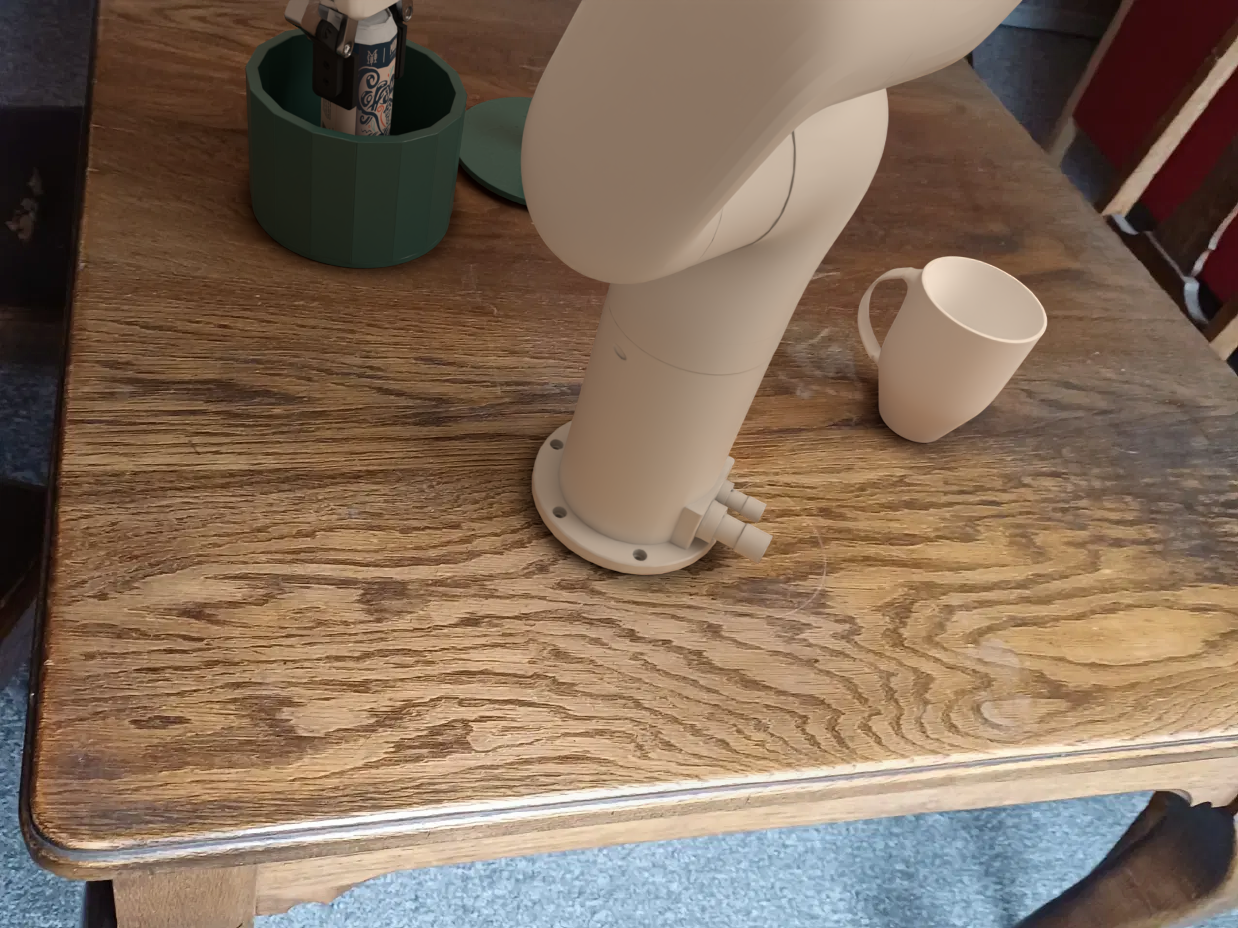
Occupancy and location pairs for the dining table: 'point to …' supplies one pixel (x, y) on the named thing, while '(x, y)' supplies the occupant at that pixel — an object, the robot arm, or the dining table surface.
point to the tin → (352, 160)
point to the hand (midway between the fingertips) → (358, 83)
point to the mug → (949, 344)
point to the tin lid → (495, 145)
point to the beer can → (367, 78)
